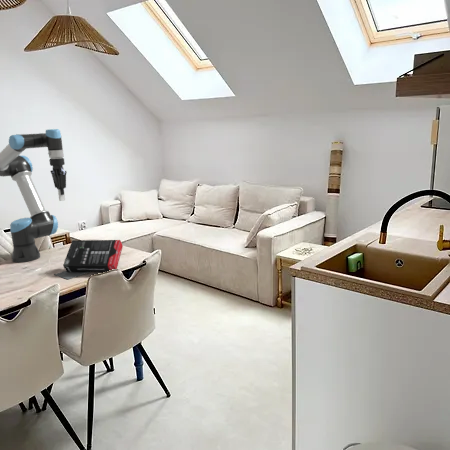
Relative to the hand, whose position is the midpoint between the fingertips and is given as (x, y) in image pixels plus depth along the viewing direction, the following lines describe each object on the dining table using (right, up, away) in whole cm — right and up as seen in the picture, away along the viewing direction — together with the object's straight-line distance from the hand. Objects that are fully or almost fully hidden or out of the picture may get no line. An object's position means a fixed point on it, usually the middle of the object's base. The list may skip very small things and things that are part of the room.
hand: (62, 200), depth 237 cm
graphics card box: (+8, -30, -13) cm, 34 cm away
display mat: (+14, -38, -14) cm, 43 cm away
